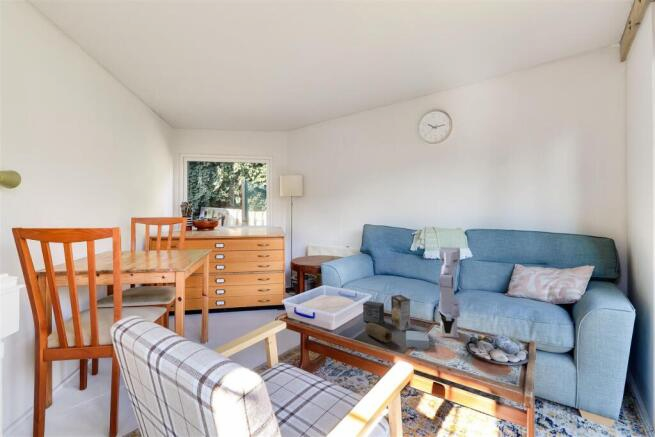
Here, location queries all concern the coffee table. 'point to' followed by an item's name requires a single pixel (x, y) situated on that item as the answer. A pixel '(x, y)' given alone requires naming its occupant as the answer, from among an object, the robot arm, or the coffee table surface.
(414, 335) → the base block
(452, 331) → the cube
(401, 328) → the coffee box
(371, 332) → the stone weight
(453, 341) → the coffee table surface
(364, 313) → the small box
